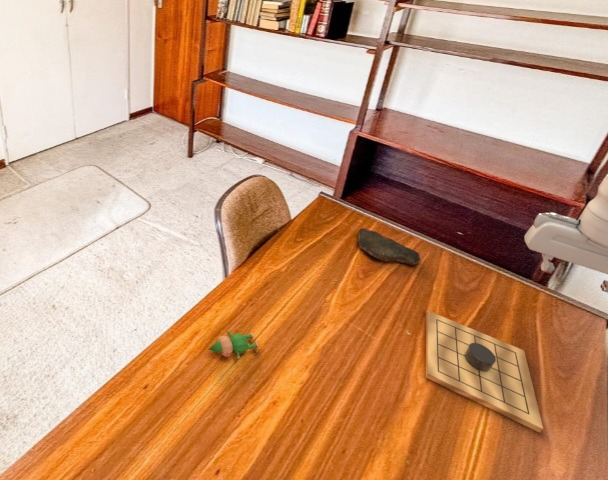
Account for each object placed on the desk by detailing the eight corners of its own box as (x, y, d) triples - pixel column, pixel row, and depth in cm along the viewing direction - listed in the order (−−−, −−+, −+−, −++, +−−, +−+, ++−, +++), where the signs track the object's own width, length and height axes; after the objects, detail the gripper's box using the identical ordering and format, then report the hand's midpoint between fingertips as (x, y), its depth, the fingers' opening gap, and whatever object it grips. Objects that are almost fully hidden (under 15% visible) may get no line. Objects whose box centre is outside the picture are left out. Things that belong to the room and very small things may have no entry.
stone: (419, 258, 124) (422, 251, 123) (412, 279, 116) (415, 271, 115) (359, 232, 134) (361, 225, 133) (349, 250, 126) (351, 243, 125)
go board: (521, 354, 96) (524, 350, 95) (539, 433, 81) (543, 428, 80) (425, 314, 105) (427, 310, 105) (425, 377, 90) (428, 373, 89)
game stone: (489, 358, 93) (494, 350, 92) (491, 376, 89) (497, 367, 88) (463, 346, 96) (468, 338, 94) (465, 363, 92) (470, 355, 90)
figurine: (259, 360, 93) (211, 369, 90) (247, 333, 99) (201, 341, 96) (263, 347, 91) (214, 357, 88) (250, 321, 97) (204, 329, 94)
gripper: (544, 217, 79) (514, 268, 85) (696, 260, 69) (650, 314, 75) (537, 201, 84) (509, 250, 90) (678, 240, 74) (636, 292, 80)
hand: (575, 280), depth 83 cm, fingers open, 8 cm apart
